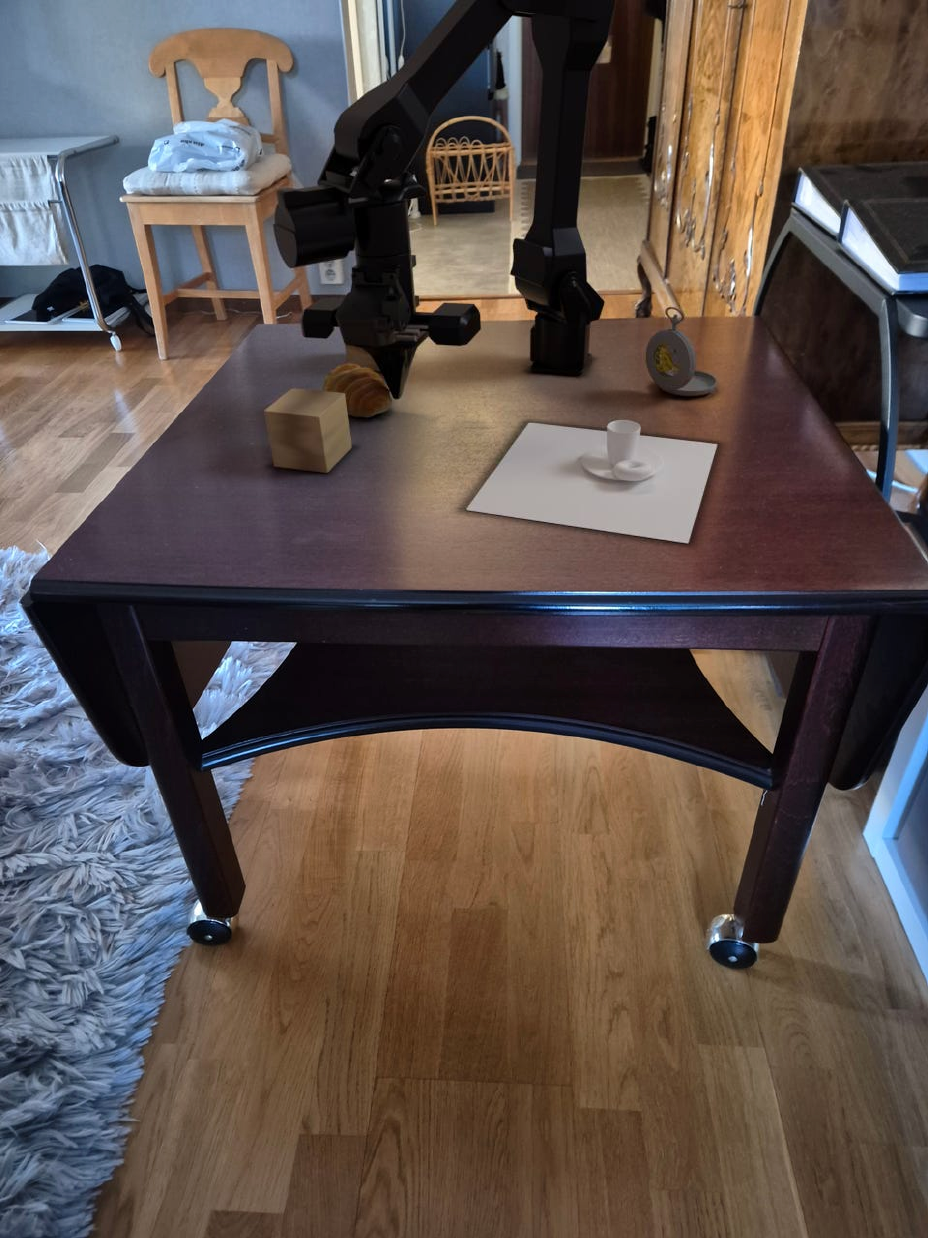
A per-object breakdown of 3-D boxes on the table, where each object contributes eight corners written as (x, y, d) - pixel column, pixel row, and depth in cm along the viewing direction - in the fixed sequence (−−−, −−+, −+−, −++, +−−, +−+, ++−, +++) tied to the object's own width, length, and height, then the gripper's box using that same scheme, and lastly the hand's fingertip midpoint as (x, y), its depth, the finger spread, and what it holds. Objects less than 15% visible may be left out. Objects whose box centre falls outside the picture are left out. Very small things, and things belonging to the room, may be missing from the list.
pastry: (407, 411, 96) (404, 378, 93) (355, 427, 93) (350, 394, 90) (368, 386, 102) (364, 355, 100) (317, 400, 99) (312, 369, 97)
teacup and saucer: (653, 493, 78) (658, 453, 76) (569, 482, 80) (571, 442, 78) (669, 453, 85) (673, 414, 82) (591, 443, 87) (593, 406, 85)
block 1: (352, 447, 88) (345, 392, 85) (327, 473, 84) (319, 416, 80) (300, 441, 90) (291, 387, 86) (273, 466, 86) (263, 410, 82)
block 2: (408, 356, 110) (405, 309, 106) (391, 372, 105) (387, 324, 102) (366, 352, 112) (361, 306, 108) (347, 368, 107) (341, 320, 103)
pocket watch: (719, 380, 99) (732, 292, 93) (711, 407, 93) (724, 316, 87) (649, 374, 102) (657, 288, 96) (637, 400, 96) (645, 310, 89)
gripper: (263, 268, 82) (290, 419, 91) (444, 274, 77) (454, 433, 86) (313, 241, 91) (333, 382, 100) (479, 245, 86) (484, 393, 95)
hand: (397, 398), depth 95 cm, fingers closed
